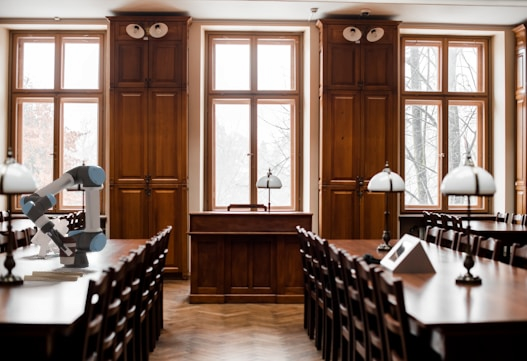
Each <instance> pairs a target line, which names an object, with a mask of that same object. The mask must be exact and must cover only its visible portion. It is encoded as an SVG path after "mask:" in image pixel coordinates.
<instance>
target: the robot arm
mask: <svg viewBox="0 0 527 361" xmlns="http://www.w3.org/2000/svg"><path fill="white" fill-rule="evenodd" d="M105 181H106V172H105V170H104V169H103V168H102V167H101V166H98V165H78V166H75V167H72V168H71V169H69V170H67V171H66V172H64V173H62V175H61V176H60V177H59V178H56V179H55V180H54V181H52V182H50V183H48V184H47V185H45V186H43V187H42V188H40V189H38V190H37V192H36V191H35V192H36V193H35V192H33V193H34V194H33V193H31V194H30V195H23V196H21V198H20V199H19V205H20V207H21V210H20V211H22V213H23V214H24V215H25V216H26V217H27V218H28V219H29V220H30V221H31V222H32V223H33V224H34V226H35V228H36V227H37V228H38V229H40V228H41V229H40V230H41V231H42V232H43V233H44V234H46V233H48V234H47V235H48V236H49V237H50V238H51V239H52V240H53V241H54V243H55V244H56V245H57V246H58V248H60V247H61V249H62V250H63V251H64V252H65V253H66V254H67V255H68V256H70V255H71V254H72V253H73V252H72V251H71V250H70V249H69V248H68V247H67V246H66V245H65V244H63V243H62V241H61V237H64V236H63V235H62V234H61V233H60V232H59V231H58V230H57V229H56V230H55V229H53V227H54V226H55V224H54V223H53V222H52V220H50V218H49V217H48V216H47V215H46V212H47V211H49V210H50V209H52V208H53V207H54V206H55V205H56V204H57V199H56V197H55V196H56V195H58V194H59V193H61V192H62V191H64V190H66V189H67V188H69V187H74V186H75V185H82V189H83V190H84V195H85V196H84V201H85V202H84V203H85V205H84V206H85V228H84V229H82V230H81V229H80V230H70V231H69V232H67V234H68V237H74V238H75V240H77V243H76V250H75V256H74V263H73V264H69V265H64V264H63V267H64V268H69V269H70V268H71V269H72V268H73V269H79V268H80V269H81V268H82V269H83V268H88V267H89V266H90V264H89V263H90V262H89V259H88V256H87V252H92V253H99V252H101V251H103V250H104V248H105V247H106V245H107V240H108V239H107V236H106V234H104V232H103V231H104V230H103V229H102V228H101V214H100V213H101V212H100V211H101V210H100V209H101V207H100V202H101V200H100V190H101V189H102V187H103V184H104V183H105Z"/></svg>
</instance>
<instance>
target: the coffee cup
mask: <svg viewBox="0 0 527 361" xmlns="http://www.w3.org/2000/svg"><path fill="white" fill-rule="evenodd" d="M61 241H62V243H63V244H65V245H66V246H67V247H68V248H69V249H70V250H71V251H72V252H73V253H72V254H71V255H70V256H68V255H67V254H66V253H65V252H64V251H63V250H62V249H61V247H60V248H59V253H58V254H59V263H60V264H61V265H63V266H64V265H69V264H73V263H74V256H75V250H76V243H77V240H75V238H74V237H61Z"/></svg>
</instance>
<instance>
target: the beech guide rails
mask: <svg viewBox="0 0 527 361" xmlns="http://www.w3.org/2000/svg"><path fill="white" fill-rule="evenodd" d="M59 275H73V276H59ZM78 276H81V277H84V271H55V270H54V271H51V270H49V271H48V270H47V271H45V270H44V271H40V270H39V271H38V270H35V271H32V273H31V274H29V275H28V274H25V275H24V276H23V277H24V278H23V281H59V282H60V281H61V282H62V281H63V282H65V281H67V282H68V281H69V282H70V281H71V282H72V281H73V282H75V281H79V280H78V279H79V278H78Z"/></svg>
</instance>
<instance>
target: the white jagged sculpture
mask: <svg viewBox="0 0 527 361" xmlns="http://www.w3.org/2000/svg"><path fill="white" fill-rule="evenodd" d="M51 221H52V222H53V223H54V224H55V226H54V227H53V229H55V230H56V229H57V230H58V231H59V232H60V233H61V234H62V235H63V236H64V237H68V231H69V230H70V229H69V227H68V225H69V224H70V223H69V221H68V220H67V219H66V218H63V219H60V218H54V219H53V218H52V219H51ZM40 229H41V228H38V230H37V232H36V233H35V234H34V236H33V237H32V238H31V240H30V242H31V243H32V244H33V245H38V246H39V247H40V248H39V251H38V255H37V258H41V259H45V257H46V255H47V254H49V253H54V254H55V255H56V254H59V248H58V246H57V245H56V244H55V243H54V241H53V240H52V239H51V238H50V237H49V236H48V235H47V234H48V233H46V234H44V233H43V232H42V231H41V230H40Z"/></svg>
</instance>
